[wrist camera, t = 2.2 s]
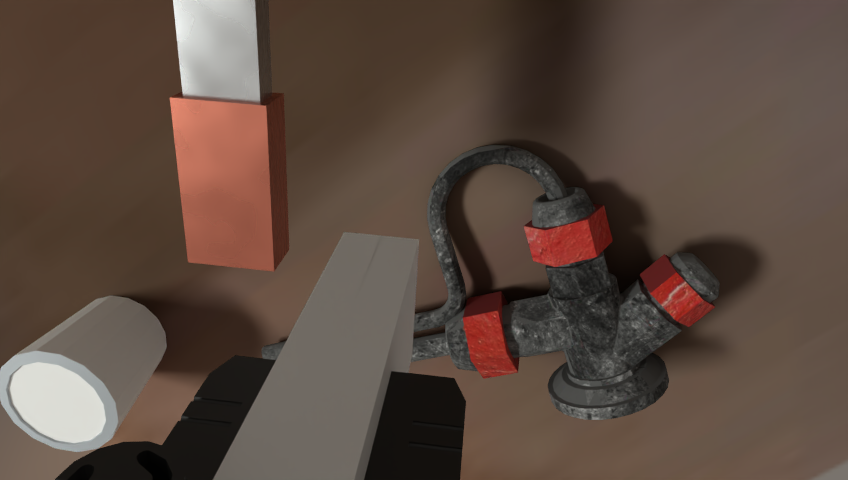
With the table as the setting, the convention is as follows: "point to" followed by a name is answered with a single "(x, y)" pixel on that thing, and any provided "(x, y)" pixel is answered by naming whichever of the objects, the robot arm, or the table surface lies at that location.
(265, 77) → the lever
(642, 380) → the valve
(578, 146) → the table surface
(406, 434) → the robot arm
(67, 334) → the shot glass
